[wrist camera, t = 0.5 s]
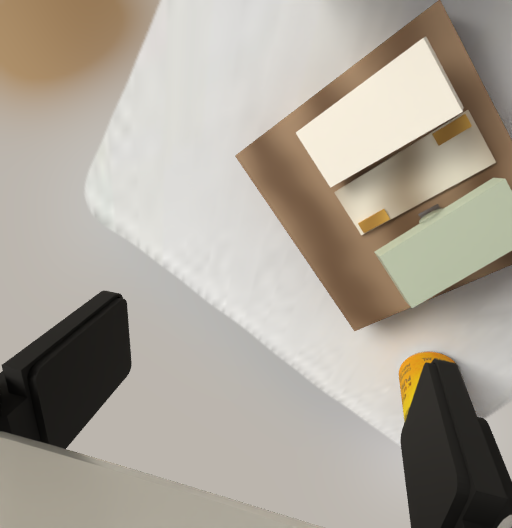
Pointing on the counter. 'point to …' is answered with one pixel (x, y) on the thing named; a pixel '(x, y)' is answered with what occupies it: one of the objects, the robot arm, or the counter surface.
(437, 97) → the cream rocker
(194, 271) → the counter surface
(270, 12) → the counter surface
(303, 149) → the switch unit
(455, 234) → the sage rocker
